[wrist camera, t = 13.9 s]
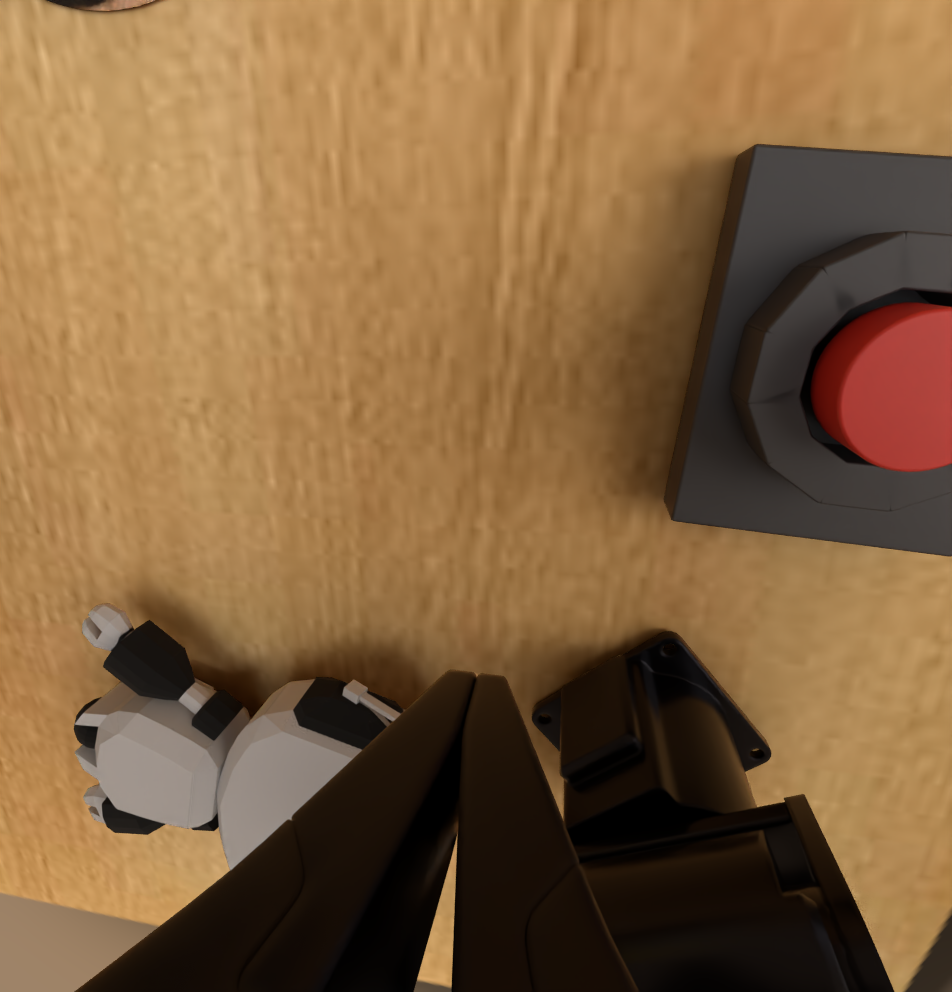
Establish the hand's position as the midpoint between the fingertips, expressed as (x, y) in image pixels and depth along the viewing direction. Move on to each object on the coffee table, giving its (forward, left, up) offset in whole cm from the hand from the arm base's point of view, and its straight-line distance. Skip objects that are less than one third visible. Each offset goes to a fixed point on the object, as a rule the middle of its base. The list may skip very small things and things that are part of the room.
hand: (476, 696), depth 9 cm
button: (-3, -9, -9) cm, 13 cm away
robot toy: (-3, +16, -12) cm, 20 cm away
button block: (-3, -9, -12) cm, 15 cm away
